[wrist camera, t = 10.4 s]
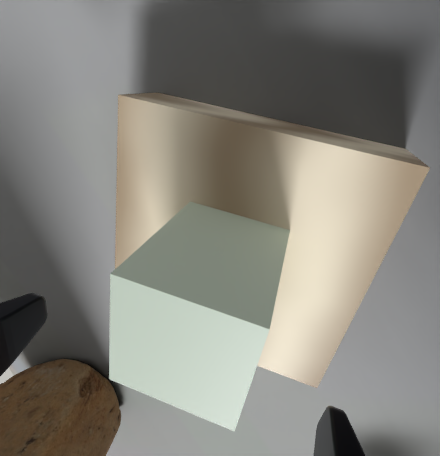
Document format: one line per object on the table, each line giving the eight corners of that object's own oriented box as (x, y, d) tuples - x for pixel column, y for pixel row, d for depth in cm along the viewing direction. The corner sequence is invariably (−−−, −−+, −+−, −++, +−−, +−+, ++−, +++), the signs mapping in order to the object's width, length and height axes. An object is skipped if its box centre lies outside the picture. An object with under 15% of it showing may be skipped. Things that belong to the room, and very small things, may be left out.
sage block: (290, 230, 13) (269, 329, 8) (264, 310, 15) (234, 431, 10) (190, 201, 14) (110, 273, 8) (178, 281, 16) (109, 378, 11)
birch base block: (402, 146, 14) (430, 167, 10) (317, 333, 20) (317, 388, 16) (162, 92, 16) (118, 94, 13) (147, 275, 22) (114, 312, 18)
